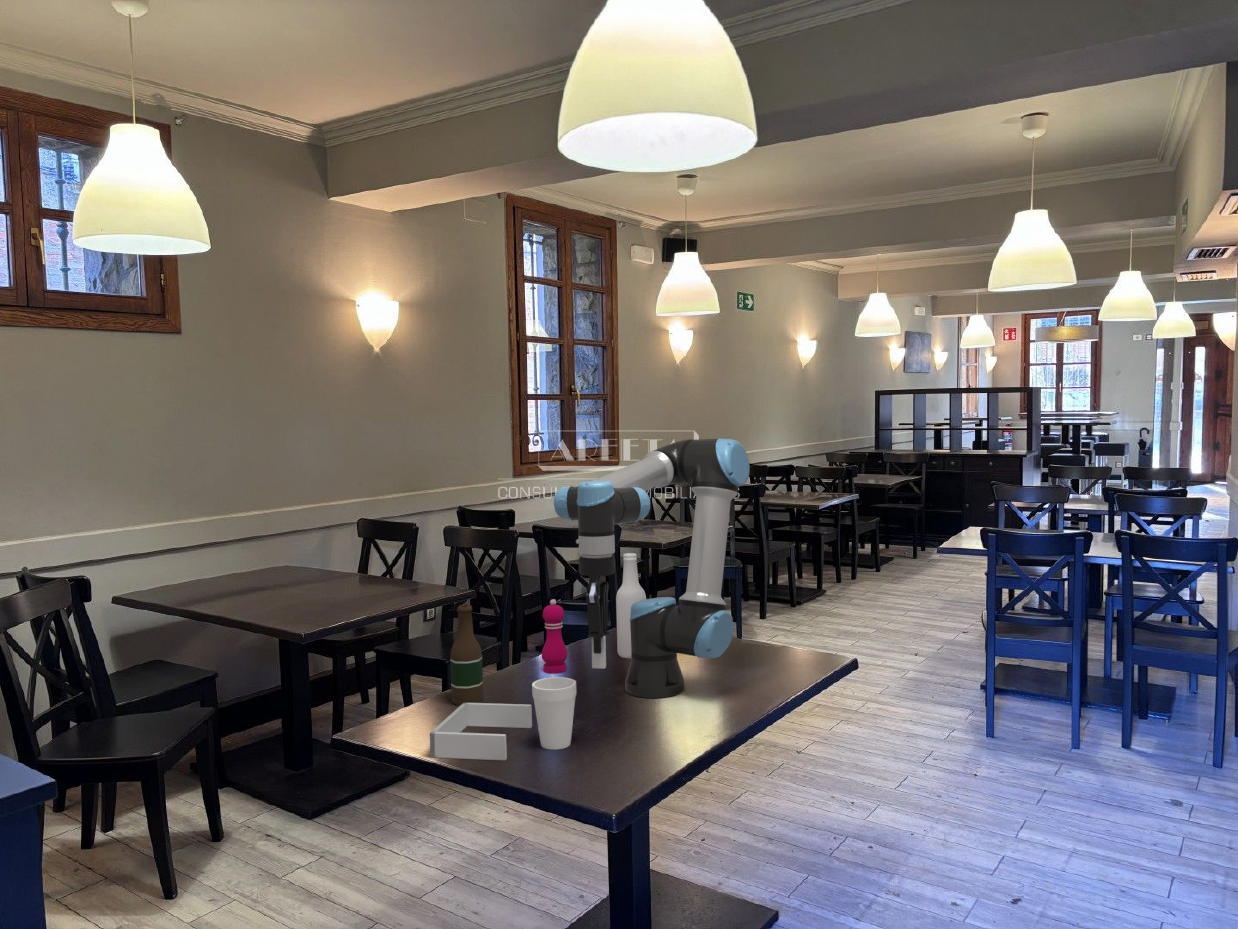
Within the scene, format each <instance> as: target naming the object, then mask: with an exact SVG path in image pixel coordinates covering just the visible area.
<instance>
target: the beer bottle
mask: <svg viewBox="0 0 1238 929" xmlns="http://www.w3.org/2000/svg"><path fill="white" fill-rule="evenodd" d="M456 611H457V634H456V639H455V640H454V643H453V644H452V646H451V650H450V655H449V656H450V658H449V660H450V665H449V666H450V688H451V702H452V704H454V705H455V706H458V707H459V706H461V705H462V704H463V703H482V701H483V700H484V673H483V670H484V669H483V652H482V648H481V645H480V643H479V642H478V640H477V638H476V637H475V634H474V625H473V615H472V611H473V606H472V605H470V604H461V605H459V606H457V608H456Z"/></svg>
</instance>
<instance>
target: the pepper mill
mask: <svg viewBox="0 0 1238 929" xmlns="http://www.w3.org/2000/svg"><path fill="white" fill-rule="evenodd" d="M564 617H565V612H564V608H563V607H562V606H561V605H558V604H557V600H556V599H555V598H554V599H551V600H549V604H548V605H546V606H545V607H544V608H543V610H542V618H543V620H544V621H545V622H544V628H545V629H546V638H545V639H546V640H545V643H544V645H543V648H542V651H541V659H542V661H544V664H543V672H544V673H546V674H562V673H564V672H566V671H567V663H566V662H565V661H566V660H567V658H568V650H567V645H565V642H564V640H563V637H562V628H563V627H564V626H563V623H564V622H563V620H564Z"/></svg>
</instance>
